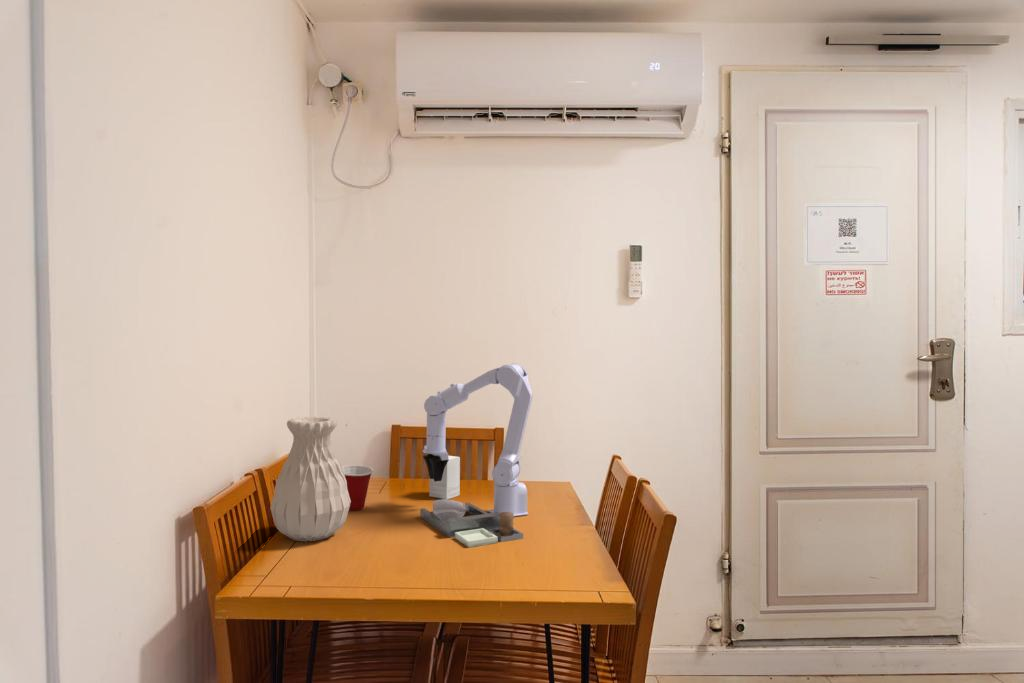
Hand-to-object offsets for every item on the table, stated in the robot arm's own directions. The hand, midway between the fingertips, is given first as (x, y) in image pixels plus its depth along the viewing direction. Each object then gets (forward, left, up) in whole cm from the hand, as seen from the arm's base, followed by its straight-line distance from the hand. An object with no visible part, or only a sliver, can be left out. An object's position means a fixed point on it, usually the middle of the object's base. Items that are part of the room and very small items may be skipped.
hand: (435, 479), depth 199 cm
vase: (+39, +11, -9) cm, 41 cm away
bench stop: (0, +18, -8) cm, 20 cm away
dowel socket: (-6, +34, -8) cm, 36 cm away
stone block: (0, +11, -9) cm, 14 cm away
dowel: (-6, +34, -8) cm, 36 cm away
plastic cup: (+22, -9, -9) cm, 25 cm away
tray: (+2, +34, -8) cm, 35 cm away
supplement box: (-8, -11, -9) cm, 16 cm away
